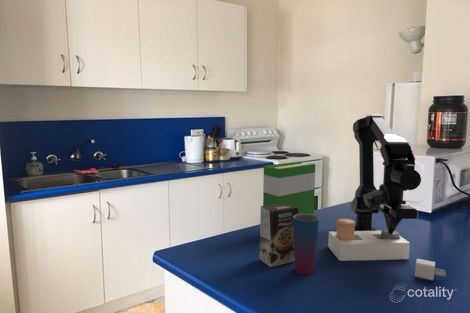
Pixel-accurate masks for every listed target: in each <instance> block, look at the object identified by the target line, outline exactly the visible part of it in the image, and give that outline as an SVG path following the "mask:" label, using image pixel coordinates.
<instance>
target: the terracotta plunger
mask: <svg viewBox="0 0 470 313" xmlns="http://www.w3.org/2000/svg"><path fill="white" fill-rule="evenodd" d="M355 223H356V221H355V220H352V219H348V218H339V219H337V220H336V231H335V232H336V236H337V238H338V239H339V240H354V231H356V229H355Z"/></svg>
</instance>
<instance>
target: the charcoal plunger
mask: <svg viewBox="0 0 470 313" xmlns="http://www.w3.org/2000/svg"><path fill="white" fill-rule="evenodd" d="M380 231H381V240H382V239H400V236H401V234H400V232H398V231H396V230H394V232H393V233H389V232H388V230H387V229H384V230H380Z"/></svg>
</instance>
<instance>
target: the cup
mask: <svg viewBox="0 0 470 313" xmlns="http://www.w3.org/2000/svg"><path fill="white" fill-rule="evenodd" d="M319 221H320V217H319V216H318V215H316V214H314V215H313V214H296V215H294V216H293V227H294V253H295V262H294V271H295V272H296V273H297V274H300V275H305V276H306V275H312V274H314V272H315V263H316V255H317V254H316V252H317V244H318V234H319V232H318V231H319V223H320V222H319Z"/></svg>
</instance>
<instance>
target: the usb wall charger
mask: <svg viewBox="0 0 470 313" xmlns="http://www.w3.org/2000/svg"><path fill="white" fill-rule="evenodd" d="M414 270H415V271H414V272H415V273H414V277H415V278H419V279H424V280H428V281H433V282H434V280H435V275H436V276H442V277H447V270H445V269H440V268H436V261H430V260H427V259H421V258H416V261H415V269H414Z"/></svg>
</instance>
